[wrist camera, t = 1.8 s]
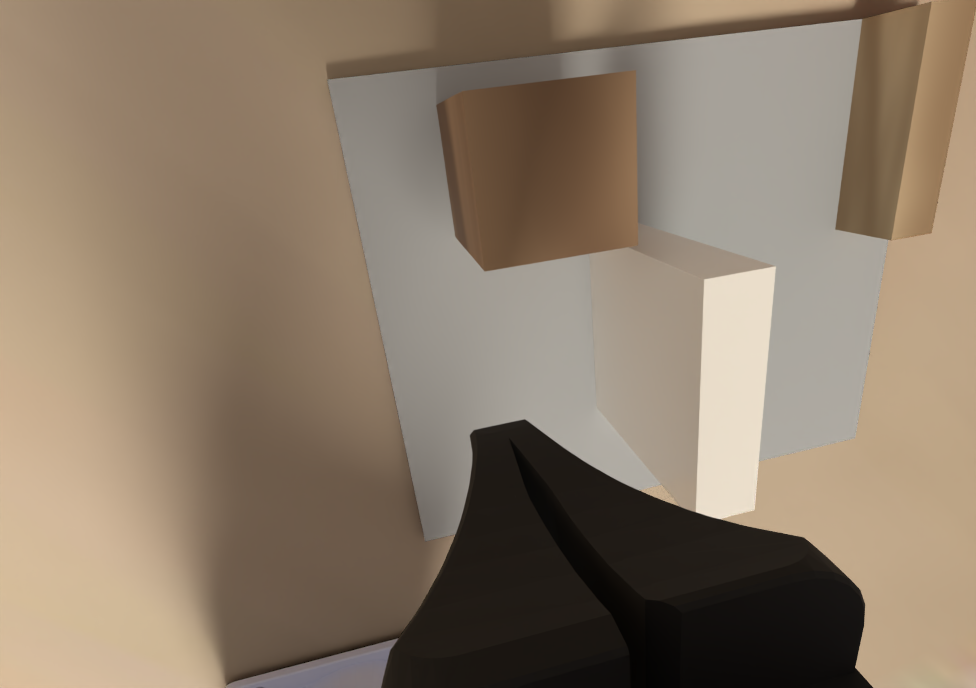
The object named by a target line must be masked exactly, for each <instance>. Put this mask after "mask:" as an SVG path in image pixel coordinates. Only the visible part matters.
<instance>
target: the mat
mask: <svg viewBox="0 0 976 688" xmlns="http://www.w3.org/2000/svg"><path fill="white" fill-rule="evenodd" d="M861 24H862V19H857V20H848V21H840V22H831V23H822V24H813V25H804V26H795V27H787V28H778V29H769V30H760V31H751V32H743V33H734V34H725V35H716V36H707V37H698V38H690V39H681V40H672V41H663V42H654V43H646V44H637V45H628V46H619V47H610V48H601V49H593V50H584V51H575V52H566V53H557V54H549V55H540V56H531V57H522V58H513V59H505V60H496V61H487V62H478V63H469V64H460V65H452V66H443V67H434V68H425V69H416V70H408V71H399V72H390V73H381V74H372V75H363V76H355V77H346V78H337V79H328V80H327V81H328V86H329V91H330V95H331V100H332V105H333V109H334V114H335V119H336V123H337V128H338V133H339V138H340V142H341V147H342V152H343V156H344V161H345V166H346V171H347V175H348V180H349V185H350V189H351V194H352V199H353V204H354V208H355V213H356V218H357V222H358V227H359V232H360V237H361V241H362V246H363V251H364V255H365V260H366V265H367V270H368V274H369V279H370V284H371V288H372V293H373V298H374V303H375V307H376V312H377V317H378V321H379V326H380V331H381V336H382V340H383V345H384V350H385V354H386V359H387V364H388V369H389V373H390V378H391V383H392V387H393V392H394V397H395V402H396V406H397V411H398V416H399V420H400V425H401V430H402V435H403V439H404V444H405V449H406V453H407V458H408V463H409V468H410V472H411V477H412V482H413V486H414V491H415V496H416V501H417V505H418V510H419V515H420V519H421V524H422V529H423V534H424V538H425V542H426V541H430V540H434V539H438V538H442V537H446V536H451V535H455V534H456V532H457V529H458V526H459V523H460V520H461V516H462V513H463V509H464V505H465V501H466V497H467V492H468V488H469V483H470V476H471V468H472V455H473V453H472V447H471V441H470V434H471V433H472V432H473V430H476V429H481V428H486V427H490V426H495V425H500V424H504V423H509V422H514V421H518V420H523V419H526V420H527V421H528V422H530V423H531V424H532V425H534V426H535V427H536V428H538V429H539V430H540V431H542V432H543V433H544V434H546V435H547V436H548V437H550V438H551V439H552V440H554V441H555V442H557V443H558V444H559V445H561V446H562V447H564V448H565V449H566V450H568V451H569V452H571V453H572V454H574V455H575V456H577V457H578V458H580V459H581V460H583V461H585V462H586V463H588V464H589V465H591V466H593V467H595V468H596V469H598V470H600V471H601V472H603V473H605V474H607V475H608V476H610V477H612V478H614V479H616V480H618V481H620V482H622V483H624V484H626V485H628V486H630V487H633V488H635V489H637V490H642V489H646V488H650V487H654V486H659V485H661V484H660V482H659V481H658V480H657V479H656V478H655V476H654V475H653V474H652V473H651V472H650V470H649V469H648V468H647V467H646V466H645V464H644V463H643V462H642V461H641V460H640V458H639V457H638V456H637V455H636V454H635V453H634V451H633V450H632V449H631V448H630V447H629V445H628V444H627V443H626V442H625V441H624V439H623V438H622V437H621V436H620V435H619V433H618V432H617V431H616V430H615V429H614V427H613V426H612V425H611V424H610V423H609V422H608V420H607V419H606V418H605V417H604V416H603V414H602V413H601V412H600V411H599V410H598V408H597V403H596V382H595V361H594V341H593V320H592V299H591V279H590V258H589V254H585V255H579V256H574V257H568V258H562V259H556V260H550V261H544V262H538V263H533V264H527V265H521V266H515V267H509V268H503V269H497V270H492V271H486V272H485V271H484V270H483V269H482V268H481V267H480V265H479V264H478V263H477V262H476V261H475V260H474V258H473V257H472V256H471V255H470V254H469V253H468V251H467V250H466V249H465V248H464V247H463V246H462V244H461V243H460V242H459V241H458V240H457V238H456V237H455V231H454V225H453V218H452V211H451V204H450V197H449V190H448V183H447V176H446V169H445V162H444V155H443V148H442V141H441V134H440V127H439V120H438V113H437V107H436V105H437V104H439V103H441V102H443V101H444V100H446V99H448V98H450V97H452V96H454V95H456V94H458V93H459V92H461V91H467V90H475V89H483V88H492V87H500V86H508V85H517V84H525V83H533V82H541V81H550V80H558V79H566V78H575V77H583V76H591V75H599V74H608V73H616V72H624V71H633V70H636V114H637V193H638V223H640V224H643V225H646V226H649V227H652V228H656V229H659V230H662V231H665V232H668V233H672V234H675V235H678V236H681V237H684V238H688V239H691V240H694V241H697V242H700V243H703V244H707V245H710V246H713V247H716V248H719V249H723V250H726V251H729V252H732V253H735V254H738V255H742V256H745V257H748V258H751V259H754V260H758V261H761V262H764V263H767V264H770V265H774V266H776V272H775V283H774V294H773V306H772V317H771V328H770V340H769V351H768V362H767V374H766V385H765V396H764V408H763V419H762V430H761V442H760V453H759V461H763V460H767V459H771V458H775V457H779V456H783V455H788V454H792V453H796V452H800V451H804V450H808V449H812V448H817V447H821V446H825V445H829V444H833V443H837V442H842V441H846V440H850V439H854V438H855V436H856V430H857V424H858V418H859V412H860V406H861V400H862V394H863V388H864V382H865V376H866V370H867V364H868V358H869V352H870V346H871V341H872V335H873V329H874V323H875V317H876V311H877V305H878V299H879V293H880V287H881V281H882V275H883V269H884V263H885V257H886V251H887V245H888V240H886V239H881V238H876V237H871V236H866V235H861V234H855V233H850V232H845V231H840V230H835V227H836V219H837V211H838V203H839V196H840V188H841V180H842V172H843V165H844V157H845V149H846V141H847V133H848V126H849V118H850V110H851V102H852V94H853V87H854V79H855V71H856V63H857V55H858V48H859V40H860V32H861Z"/></svg>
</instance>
